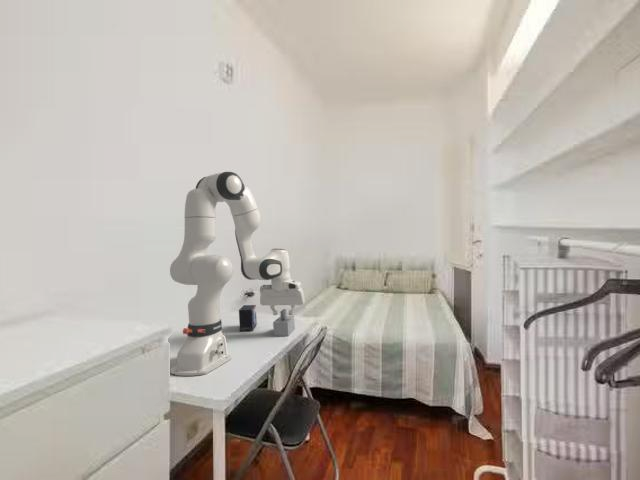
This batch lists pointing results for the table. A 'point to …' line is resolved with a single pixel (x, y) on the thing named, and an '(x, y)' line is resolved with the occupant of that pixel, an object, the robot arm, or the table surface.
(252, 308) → the small box
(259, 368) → the table surface
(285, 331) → the gray hook block
